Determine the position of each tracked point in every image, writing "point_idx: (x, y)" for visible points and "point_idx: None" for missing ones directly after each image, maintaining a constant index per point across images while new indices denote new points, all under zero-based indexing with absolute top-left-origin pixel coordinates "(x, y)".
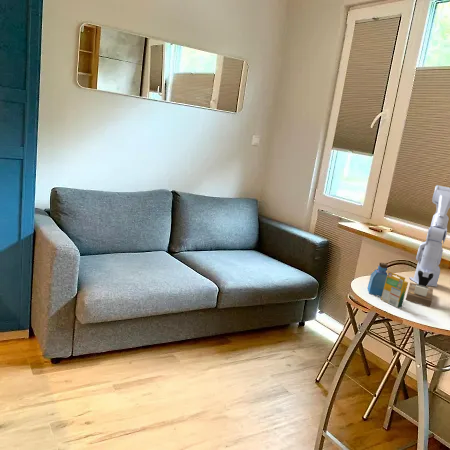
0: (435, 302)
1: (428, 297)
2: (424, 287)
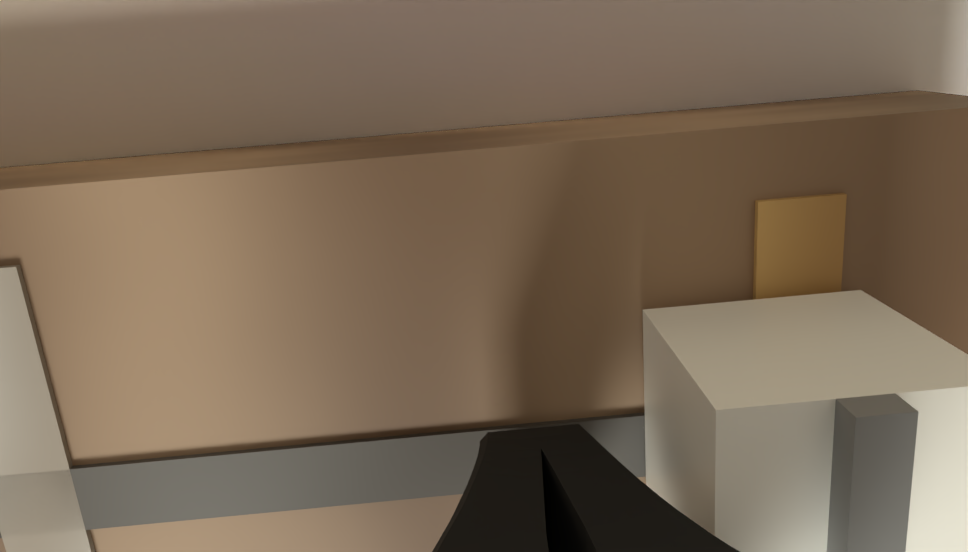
0: (409, 18)
1: (806, 224)
2: (889, 514)
